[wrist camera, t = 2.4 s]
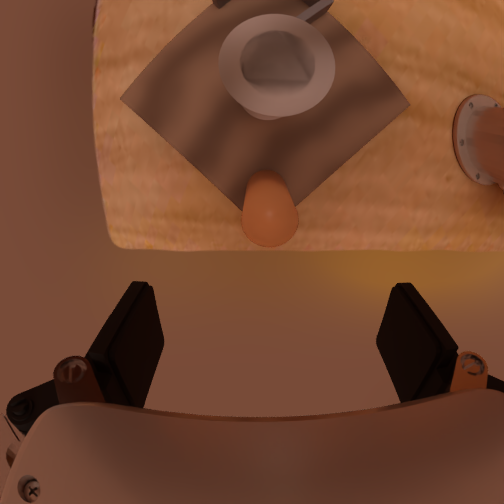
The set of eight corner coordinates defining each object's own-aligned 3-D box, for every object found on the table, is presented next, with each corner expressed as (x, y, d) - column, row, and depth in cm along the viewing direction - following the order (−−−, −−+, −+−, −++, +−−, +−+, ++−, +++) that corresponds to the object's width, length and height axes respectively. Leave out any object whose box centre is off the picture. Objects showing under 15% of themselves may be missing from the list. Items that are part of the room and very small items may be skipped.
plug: (293, 189, 29) (310, 221, 20) (265, 214, 30) (268, 257, 21) (266, 161, 28) (271, 181, 19) (238, 188, 29) (229, 220, 20)
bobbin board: (402, 105, 26) (508, 109, 11) (264, 226, 33) (270, 323, 18) (266, -28, 20) (272, -119, 4) (127, 99, 27) (23, 96, 11)
